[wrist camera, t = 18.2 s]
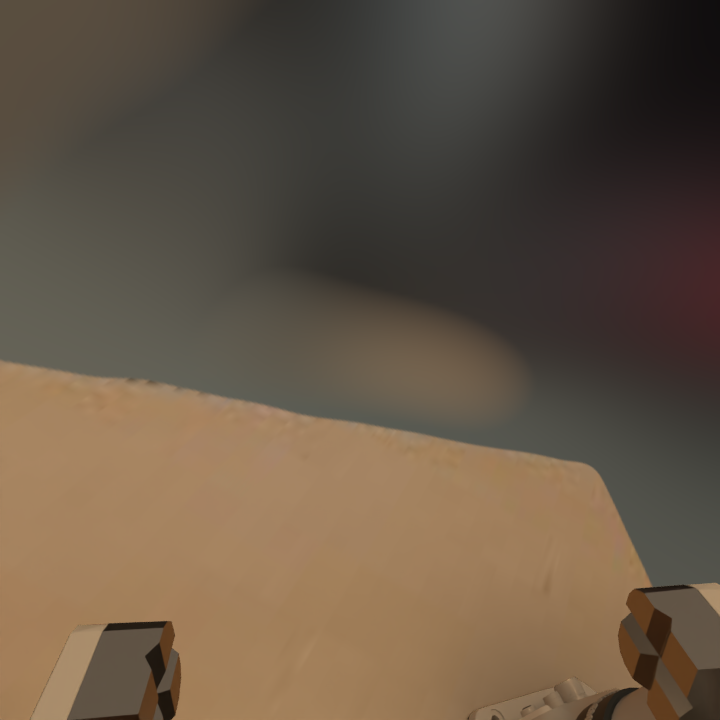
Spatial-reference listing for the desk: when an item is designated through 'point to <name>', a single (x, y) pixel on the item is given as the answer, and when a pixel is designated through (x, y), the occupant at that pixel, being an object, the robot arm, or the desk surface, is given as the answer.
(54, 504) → the desk surface
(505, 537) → the desk surface
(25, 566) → the desk surface
